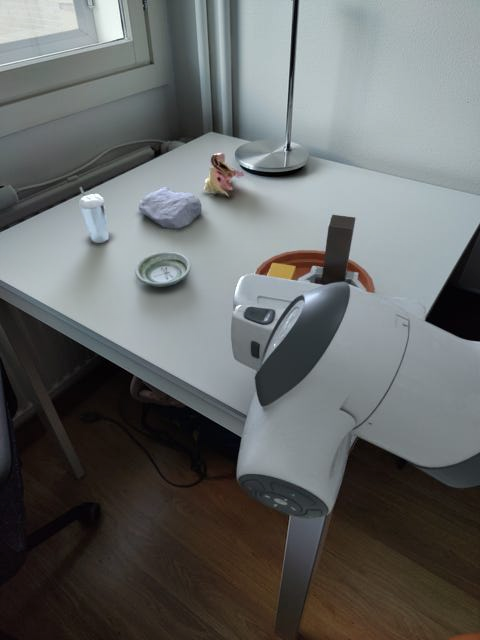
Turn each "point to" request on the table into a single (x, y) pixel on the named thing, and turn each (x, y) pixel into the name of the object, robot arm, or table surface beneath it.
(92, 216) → the milkshake
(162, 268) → the saucer
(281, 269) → the block
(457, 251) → the table surface
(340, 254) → the dark brown tall block
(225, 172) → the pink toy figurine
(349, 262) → the bowl
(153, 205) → the stone block
